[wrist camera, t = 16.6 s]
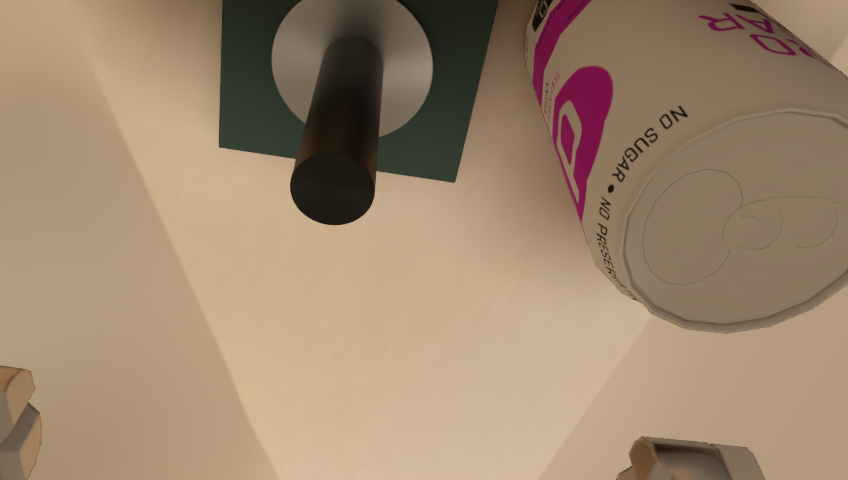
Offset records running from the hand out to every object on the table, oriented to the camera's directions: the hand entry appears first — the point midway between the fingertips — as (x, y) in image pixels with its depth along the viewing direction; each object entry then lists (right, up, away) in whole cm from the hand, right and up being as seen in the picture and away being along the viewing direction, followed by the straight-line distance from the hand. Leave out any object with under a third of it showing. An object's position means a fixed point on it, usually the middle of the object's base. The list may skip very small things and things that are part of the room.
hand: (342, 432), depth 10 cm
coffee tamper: (-2, +10, +21) cm, 24 cm away
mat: (-2, +10, +22) cm, 24 cm away
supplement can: (+9, +11, +21) cm, 26 cm away
